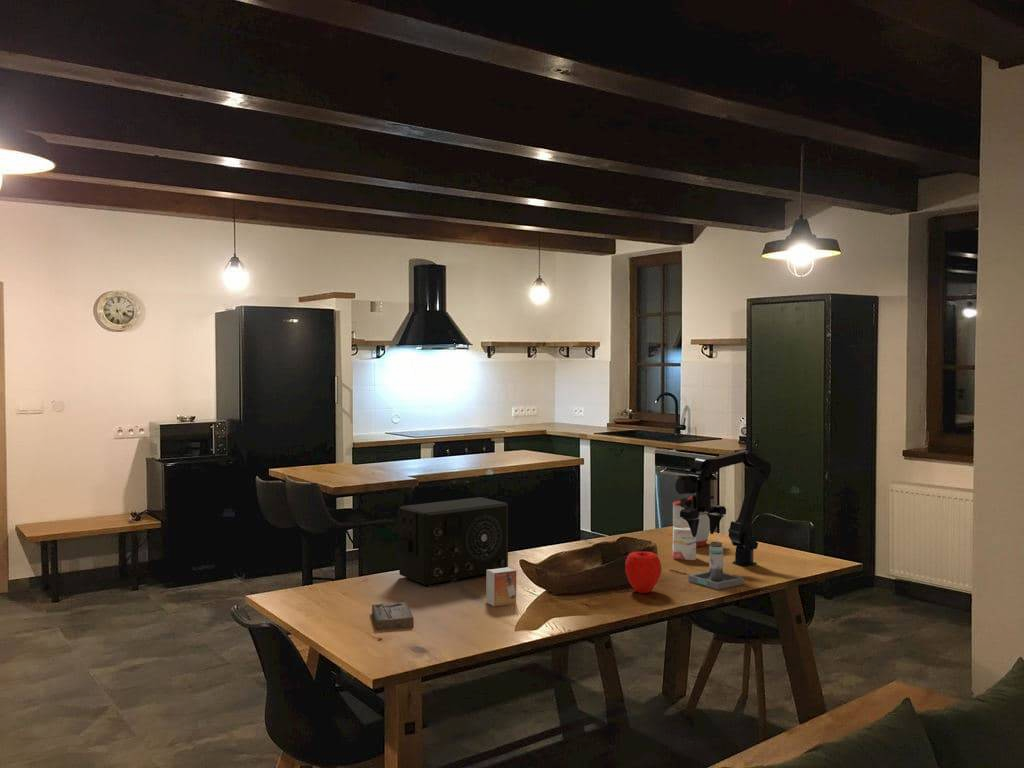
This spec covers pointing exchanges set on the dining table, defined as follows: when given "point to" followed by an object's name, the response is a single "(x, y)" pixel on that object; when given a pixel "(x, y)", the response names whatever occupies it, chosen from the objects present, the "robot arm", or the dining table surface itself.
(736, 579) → the tray
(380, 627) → the box
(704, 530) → the citrus juicer
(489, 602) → the small box
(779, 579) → the dining table surface
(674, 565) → the dining table surface
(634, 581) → the apple
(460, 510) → the vintage radio
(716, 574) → the canister
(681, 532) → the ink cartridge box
